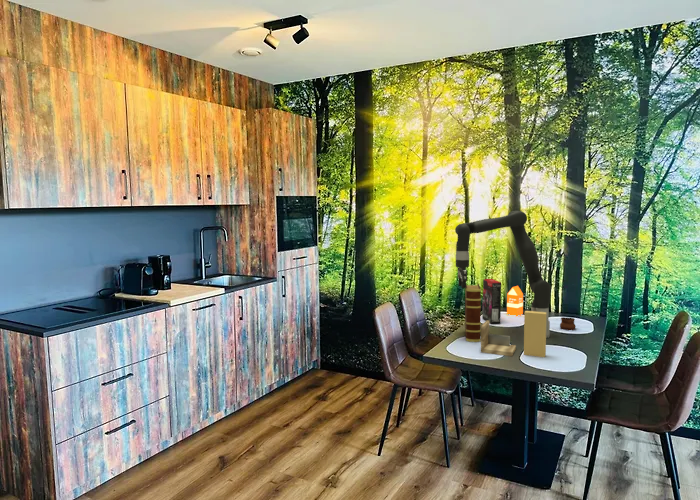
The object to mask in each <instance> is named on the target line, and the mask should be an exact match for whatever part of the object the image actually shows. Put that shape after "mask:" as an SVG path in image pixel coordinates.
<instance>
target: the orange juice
mask: <svg viewBox="0 0 700 500" xmlns="http://www.w3.org/2000/svg"><path fill="white" fill-rule="evenodd" d="M506 296H507V297H506V315H507V314H510V315H516V316H515V317H517V316H518V315H520V316H522V315H521V314H524V293H523V292H522V290H521V288H520V287H519V285H516V286H512V287H511V289H510V290H509V291H508V292H507V295H506ZM510 315H509V316H510ZM518 317H519V316H518Z"/></svg>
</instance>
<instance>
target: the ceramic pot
mask: <svg viewBox="0 0 700 500" xmlns="http://www.w3.org/2000/svg"><path fill="white" fill-rule="evenodd" d="M560 321H561V322H560V324H559V327H560V329H561V330H562V329H563V331H569V330H572V331H574V330H575V329H576V324H575V318H574V317H565V316H563V317H561V318H560ZM553 330H554V331H557V329H555V328H553Z"/></svg>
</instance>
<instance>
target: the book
mask: <svg viewBox="0 0 700 500" xmlns="http://www.w3.org/2000/svg"><path fill="white" fill-rule="evenodd" d="M523 314H524V317H523V318H524V321H523V322H524V324H523V325H524V327H523V333H524V334H523V356H530V357H531V356H532V357H540V358H546V356H545V355H546V354H547V353H546V352H547V351H546V350H547V338H546V315H547V312H535V311H531V310H525V311H524V312H523Z"/></svg>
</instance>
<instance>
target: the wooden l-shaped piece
mask: <svg viewBox="0 0 700 500" xmlns="http://www.w3.org/2000/svg"><path fill="white" fill-rule="evenodd" d="M480 330H481V332H480V339H481V341H480V353H482V354H490V355H498V356H506V357H513V355H514V354H515V352H516V350H517V345H516V344H510V346H503V345H494V344H488V334H490V323H489V321H488V320H485V322H483V323H482V324H481V325H480Z"/></svg>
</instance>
